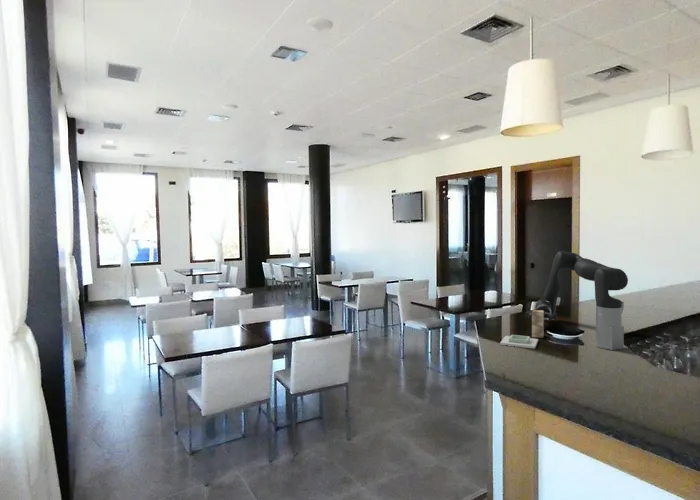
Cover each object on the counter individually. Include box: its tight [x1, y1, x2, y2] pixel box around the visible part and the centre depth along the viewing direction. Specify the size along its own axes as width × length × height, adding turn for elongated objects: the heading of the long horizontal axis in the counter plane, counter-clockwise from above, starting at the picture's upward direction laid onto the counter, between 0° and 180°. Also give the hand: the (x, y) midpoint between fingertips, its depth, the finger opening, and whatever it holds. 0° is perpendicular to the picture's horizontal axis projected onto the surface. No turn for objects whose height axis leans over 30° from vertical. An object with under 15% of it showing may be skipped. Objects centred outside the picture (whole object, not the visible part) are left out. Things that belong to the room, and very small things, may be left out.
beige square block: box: [531, 309, 545, 339], centre depth 199 cm, size 5×5×12 cm
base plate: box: [499, 334, 539, 350], centre depth 188 cm, size 14×14×2 cm
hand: (539, 317), depth 208 cm, fingers open, 8 cm apart
